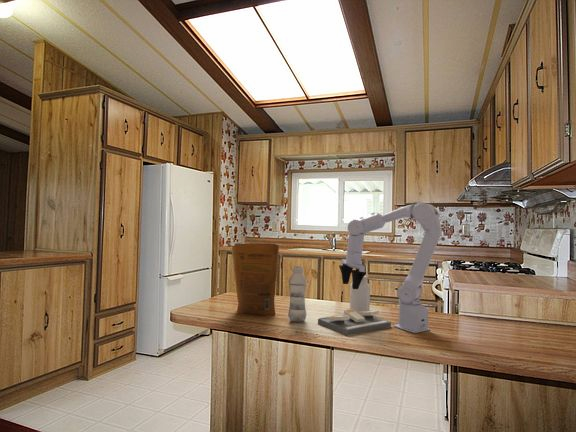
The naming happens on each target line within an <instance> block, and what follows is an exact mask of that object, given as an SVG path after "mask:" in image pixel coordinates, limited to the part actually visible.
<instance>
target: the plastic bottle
mask: <svg viewBox="0 0 576 432" xmlns="http://www.w3.org/2000/svg"><path fill="white" fill-rule="evenodd" d="M303 273H304V267H303V266H292V275H290V277H289V279H288V289H289V307H288V313H287V316H288V319H289V321H290V322H294V323H302V322H305V321H306V319H307V309H306V301H305V299H306V297H305V296H306V289H307V278H306V276H305V275H304V274H303Z"/></svg>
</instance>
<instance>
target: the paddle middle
mask: <svg viewBox="0 0 576 432" xmlns="http://www.w3.org/2000/svg"><path fill="white" fill-rule="evenodd" d="M343 314H346V315H347V316H348V315H349V317H350V318H351V319H352V320H354V321H355V322H356V323H357V322H363V321H364V320H365V318H364V317H363V316H361V315H360V314H358V313H357V312H355V311H354V310H353V309H350V308H348V309H344V311H343Z"/></svg>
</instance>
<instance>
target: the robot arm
mask: <svg viewBox="0 0 576 432" xmlns="http://www.w3.org/2000/svg"><path fill="white" fill-rule="evenodd" d="M404 218H410V219H415V220H416V221H417V222H418V224H420V226H421V228H422V229H423V231H424V234H423V238H422V240H421V243H420V245H419V248H418V250H417V253H416V255H415V257H414V260H413V263H412V265H411V267H410V271H409V273H408V274H407V276H406V278H405V279H404V281H403V284H402V285H400V286H399V288H398V289H397V297H398V323H397V324H393V327H395V328H398V329H401V330H402V331H403V330H404V331H406V332H410V333H413V334H418V333H422V332H426V331H430V328H429V310H428V308H427V307H426V305H422V304H421V303H422V302H421V300H420V297H421V296H422V294H423V289H422V287H423V284H424V278H425V275H426V272H427V270H428V268H429V265H430V263H431V260H432V257H433V255H434V253H435V250H436V248H437V245H438V243H439V241H440V238H441V236H442V234H443V233H442V232H443V229H442V224H441V220H440V214H439V211H438V210H437V208H436V207H435V206H434V205H432V204H430V203H426V202H418V203H413V204H409V205H406V206H402V207H400V208H398V209H394V210H391V211H390V212H386V213H384V214H381V213H379V212H372V213H370V215H367V216H365V217H363V216H361V217H359V219H352V220H351V221H349V222H348V224H347V232H348V239H347V249H346V256H345V258H341V264H340V265H338V267H339V270H340V274H341V279H342V280H341V281H342V284H343V285H349V282H350V278H351V279H352V281H351V283H352V288H353V289H358V288H359V286H360V283H361V281H362V279H363V277H364V276H367V275H366V274H367V272H366V266H364V264H362V256H363V247H364V239H365V235H366V233H370V232H373V231H376V230H379V229H383V228H384V226H385V224H386V223H390V222H393V221H396V220H401V219H404Z"/></svg>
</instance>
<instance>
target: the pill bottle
mask: <svg viewBox="0 0 576 432" xmlns="http://www.w3.org/2000/svg"><path fill="white" fill-rule="evenodd" d="M367 281H368V276H367V275H365V276H364V277H363V279H362V281H361V283H360V286H359V288H358V289H353V288H352V282H351V283H350V287H349V289H350V290H349V291H350V292H349V294H350V295H349V309H353V310H354V311H355V312H361V311H371V310H370V305H371V303H370V302H371V301H370V300H371V285H370V283H368V282H367Z"/></svg>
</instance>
